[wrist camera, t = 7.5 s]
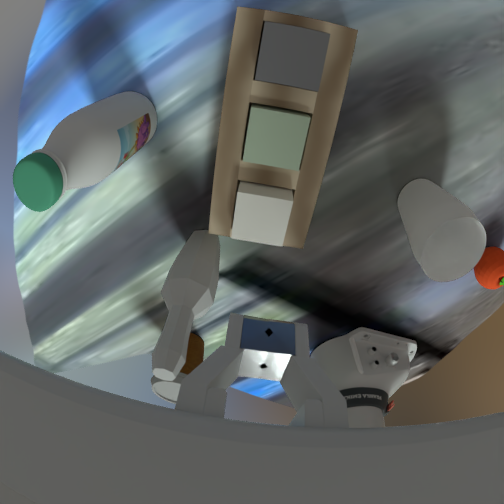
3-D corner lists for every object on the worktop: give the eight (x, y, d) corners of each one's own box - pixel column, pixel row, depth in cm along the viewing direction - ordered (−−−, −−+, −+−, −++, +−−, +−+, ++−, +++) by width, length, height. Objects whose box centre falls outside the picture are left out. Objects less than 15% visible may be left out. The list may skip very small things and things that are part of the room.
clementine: (507, 240, 41) (528, 266, 35) (492, 272, 45) (509, 299, 39) (476, 236, 41) (497, 263, 35) (461, 270, 45) (478, 298, 39)
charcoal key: (324, 36, 26) (330, 33, 23) (313, 87, 30) (318, 91, 26) (266, 24, 26) (264, 21, 23) (257, 76, 30) (254, 79, 26)
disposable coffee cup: (174, 318, 56) (157, 373, 46) (220, 339, 58) (211, 393, 49) (159, 343, 61) (143, 392, 51) (200, 361, 63) (190, 410, 54)
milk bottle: (94, 117, 35) (-12, 182, 19) (133, 78, 32) (23, 118, 16) (129, 158, 38) (42, 245, 22) (171, 122, 35) (87, 195, 19)
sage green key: (307, 110, 33) (310, 118, 29) (296, 158, 36) (298, 171, 33) (253, 101, 32) (251, 107, 29) (245, 150, 36) (242, 161, 33)
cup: (377, 193, 39) (407, 245, 29) (431, 157, 35) (476, 199, 25) (405, 238, 43) (434, 295, 33) (453, 207, 39) (493, 256, 29)
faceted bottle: (181, 255, 47) (135, 381, 29) (185, 220, 43) (129, 348, 26) (222, 264, 48) (194, 396, 30) (229, 229, 44) (198, 365, 26)
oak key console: (349, 32, 27) (357, 30, 24) (300, 231, 43) (302, 248, 40) (241, 11, 27) (237, 6, 24) (213, 217, 43) (208, 233, 40)
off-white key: (291, 186, 37) (293, 201, 34) (281, 228, 40) (282, 246, 37) (241, 177, 37) (237, 191, 33) (234, 220, 40) (230, 238, 37)
